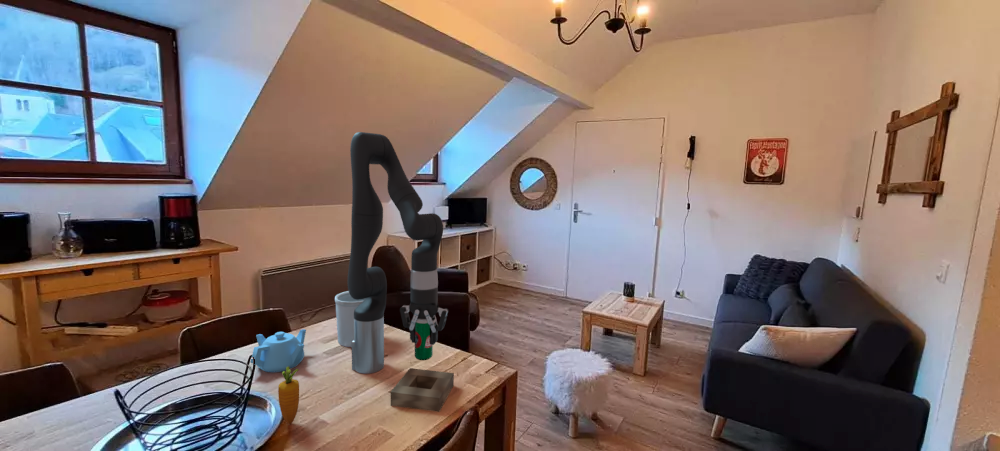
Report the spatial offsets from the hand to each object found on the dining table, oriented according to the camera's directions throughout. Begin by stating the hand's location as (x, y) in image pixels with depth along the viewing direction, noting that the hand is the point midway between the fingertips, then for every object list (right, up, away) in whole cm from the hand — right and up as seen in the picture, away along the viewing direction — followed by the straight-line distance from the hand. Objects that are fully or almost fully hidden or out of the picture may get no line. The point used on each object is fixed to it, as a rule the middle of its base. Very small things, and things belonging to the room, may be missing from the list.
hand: (423, 342), depth 115 cm
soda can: (0, -5, +1) cm, 5 cm away
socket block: (0, -16, +2) cm, 16 cm away
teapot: (-50, -13, +18) cm, 55 cm away
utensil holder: (-33, -10, +38) cm, 52 cm away
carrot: (-31, -17, -13) cm, 38 cm away
